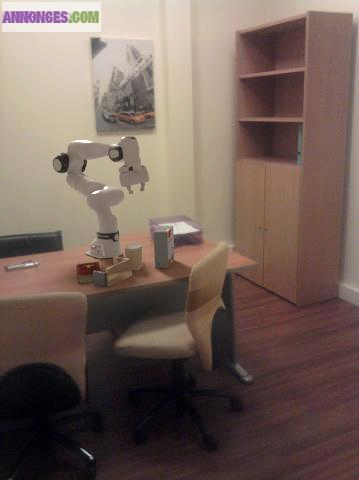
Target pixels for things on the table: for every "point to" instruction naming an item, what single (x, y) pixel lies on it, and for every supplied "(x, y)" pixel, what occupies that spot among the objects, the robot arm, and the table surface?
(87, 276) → the hardcover book
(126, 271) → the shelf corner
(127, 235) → the table surface
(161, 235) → the hard drive box
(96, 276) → the bookend
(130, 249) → the coffee cup
